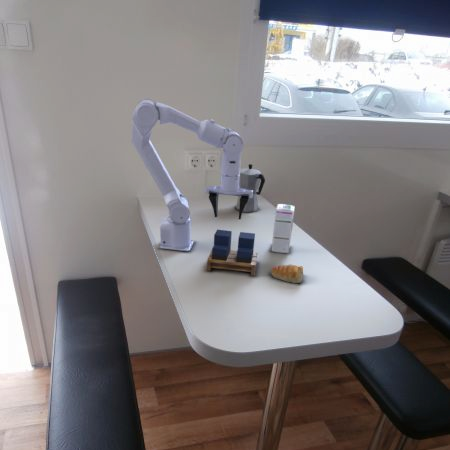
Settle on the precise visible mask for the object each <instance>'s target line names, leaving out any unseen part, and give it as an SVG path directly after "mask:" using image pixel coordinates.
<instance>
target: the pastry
mask: <svg viewBox="0 0 450 450" xmlns="http://www.w3.org/2000/svg"><path fill="white" fill-rule="evenodd" d="M270 274H271V276H272V277H274V278H275V279H277V280H281V281H284V282H287V283H293V284H301V283H302V281H303V277H304V266H302V265H300V266H299V265H294V264H288V265H286V264H285V265H276V266H274V267H272V268H271V270H270Z"/></svg>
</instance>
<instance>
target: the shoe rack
mask: <svg viewBox="0 0 450 450" xmlns="http://www.w3.org/2000/svg"><path fill="white" fill-rule="evenodd" d="M236 257H237V250H233V249H231V250H230V253H229V256H228V258H227V260H226V261H224V260H216V259H212V249H211V251H210V253H209V255H208V257H207V260H206V272H211V271H212V268H213V269H219V270H220V269H222V270H230V271H239V272H247V273H248V272H249V273H250V277H255V274H256V270H257V269H256V268H257V262H258V252H253V257H252V262H251V263H243V262H236Z"/></svg>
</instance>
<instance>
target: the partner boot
mask: <svg viewBox="0 0 450 450" xmlns="http://www.w3.org/2000/svg"><path fill="white" fill-rule="evenodd" d="M255 238H256V233H255V232H254V233H253V232H245V231H240V232H239V235H238V240H237V250H236V251H237V257H236V262H243V263H251V262H252V257H253V253H254V250H255V249H254V248H255Z"/></svg>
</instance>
